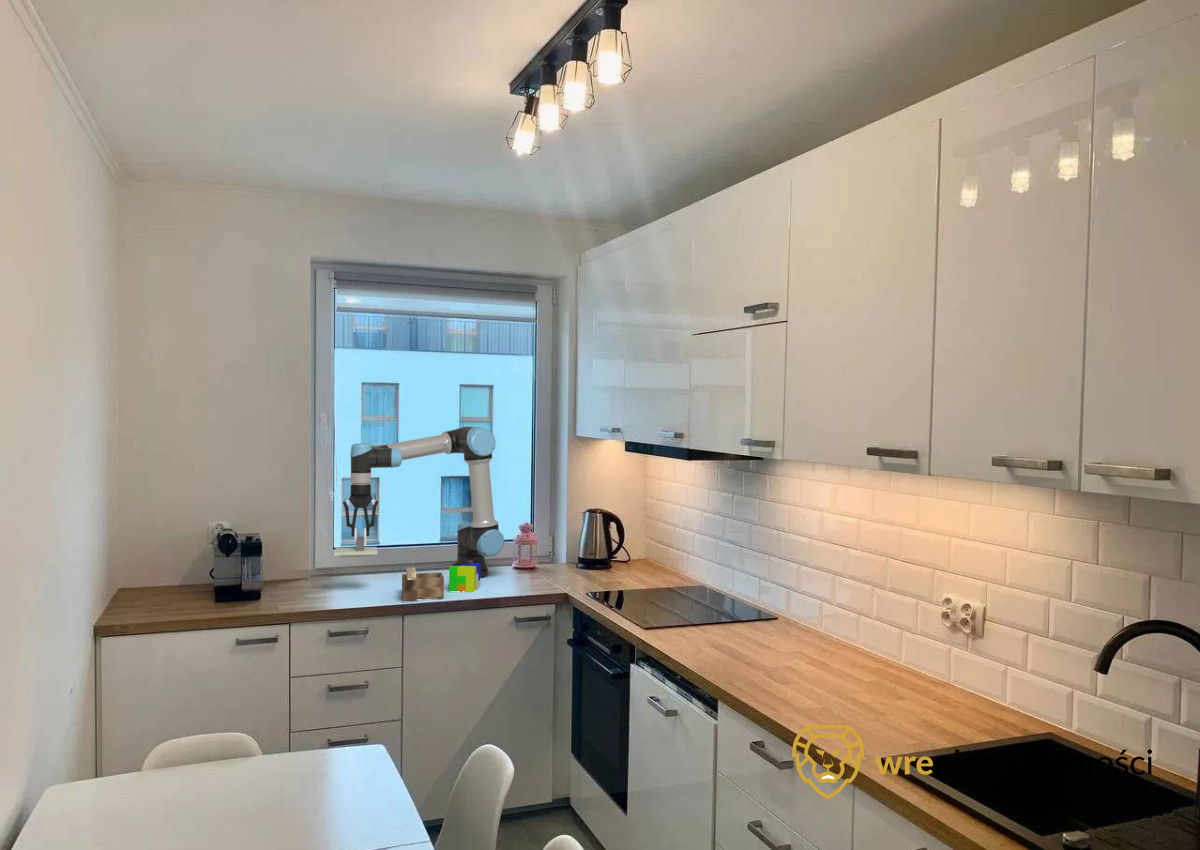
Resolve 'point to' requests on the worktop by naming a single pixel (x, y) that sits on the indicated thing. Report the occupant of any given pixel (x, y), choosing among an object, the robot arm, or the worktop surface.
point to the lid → (356, 550)
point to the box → (423, 586)
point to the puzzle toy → (464, 577)
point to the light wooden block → (411, 573)
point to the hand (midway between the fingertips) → (360, 544)
